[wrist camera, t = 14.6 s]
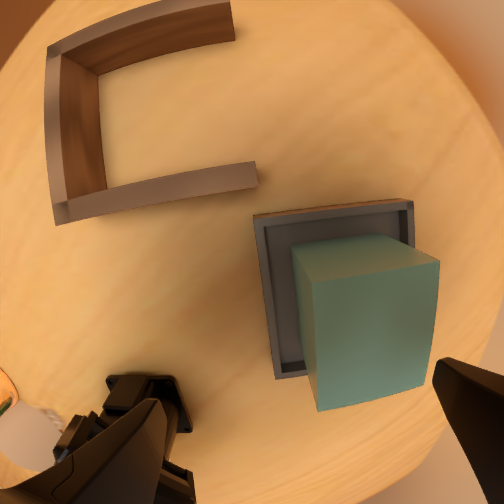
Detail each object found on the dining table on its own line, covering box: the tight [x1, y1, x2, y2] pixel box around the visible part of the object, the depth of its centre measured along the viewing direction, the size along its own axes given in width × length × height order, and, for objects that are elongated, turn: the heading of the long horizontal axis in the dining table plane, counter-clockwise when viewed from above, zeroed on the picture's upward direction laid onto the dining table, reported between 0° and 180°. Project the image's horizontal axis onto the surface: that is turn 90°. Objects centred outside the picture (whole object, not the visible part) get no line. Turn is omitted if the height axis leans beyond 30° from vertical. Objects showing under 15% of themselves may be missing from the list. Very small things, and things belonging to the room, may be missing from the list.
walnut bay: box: [44, 0, 259, 226], centre depth 15 cm, size 11×11×5 cm
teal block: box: [290, 233, 440, 412], centre depth 15 cm, size 7×6×7 cm
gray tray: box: [253, 199, 415, 380], centre depth 19 cm, size 11×10×2 cm
